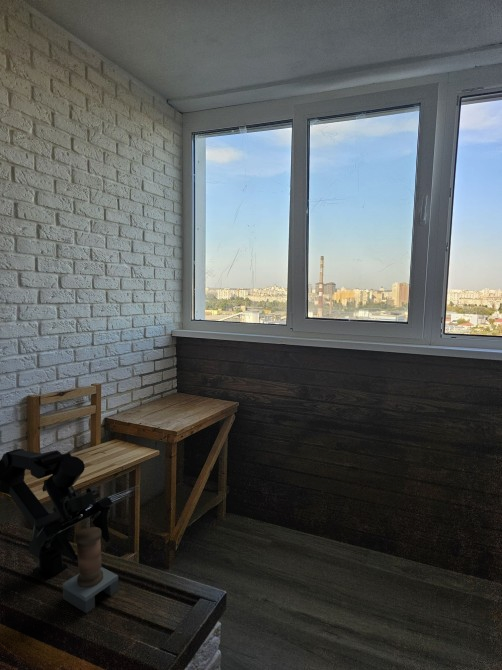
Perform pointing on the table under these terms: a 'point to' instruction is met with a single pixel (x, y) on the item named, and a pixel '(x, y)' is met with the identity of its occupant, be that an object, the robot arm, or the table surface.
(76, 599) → the grey bridge block
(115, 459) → the table surface
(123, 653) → the table surface
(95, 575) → the brown flanged cylinder
